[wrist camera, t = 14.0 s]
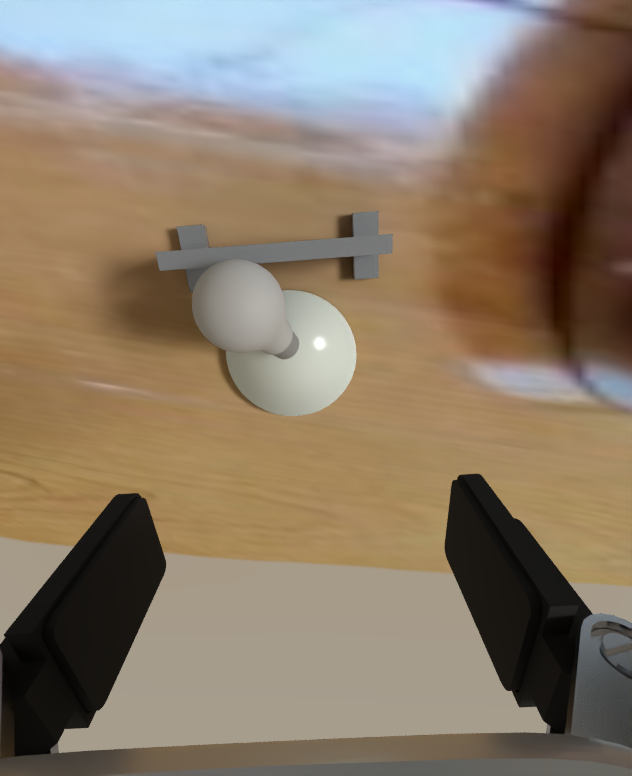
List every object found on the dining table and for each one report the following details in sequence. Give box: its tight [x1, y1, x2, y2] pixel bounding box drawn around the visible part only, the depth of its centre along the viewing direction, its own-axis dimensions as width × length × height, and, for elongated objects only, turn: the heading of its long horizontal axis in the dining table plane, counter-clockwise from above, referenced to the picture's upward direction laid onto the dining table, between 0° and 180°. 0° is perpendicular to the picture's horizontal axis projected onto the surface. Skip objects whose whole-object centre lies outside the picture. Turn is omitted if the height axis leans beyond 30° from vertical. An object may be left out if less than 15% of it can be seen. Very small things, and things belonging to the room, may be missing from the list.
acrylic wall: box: [155, 211, 393, 292], centre depth 25 cm, size 5×16×6 cm, turn 94°
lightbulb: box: [192, 259, 299, 359], centre depth 25 cm, size 6×6×11 cm
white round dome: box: [226, 290, 356, 416], centre depth 31 cm, size 12×12×1 cm
